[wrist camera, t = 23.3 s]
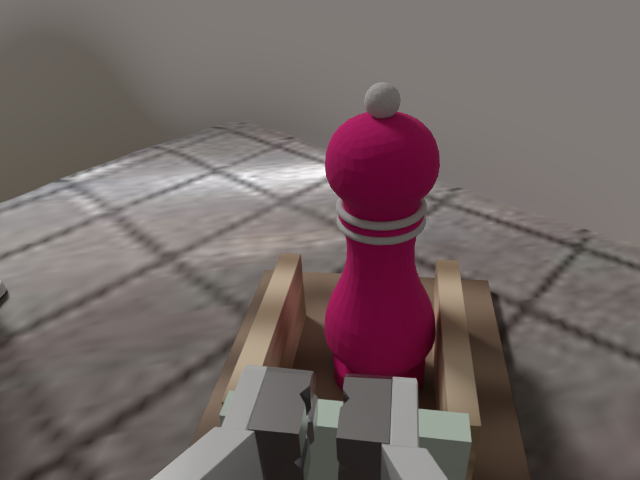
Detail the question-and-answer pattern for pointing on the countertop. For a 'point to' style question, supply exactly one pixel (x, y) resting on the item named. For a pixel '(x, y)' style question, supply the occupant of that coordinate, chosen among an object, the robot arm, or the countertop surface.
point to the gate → (434, 434)
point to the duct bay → (440, 364)
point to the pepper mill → (381, 240)
